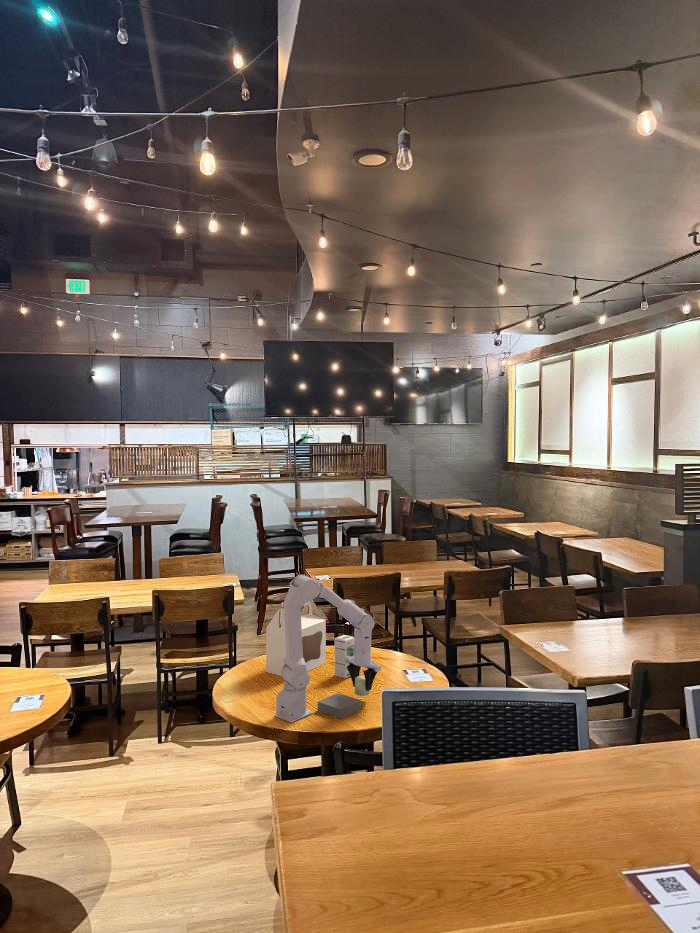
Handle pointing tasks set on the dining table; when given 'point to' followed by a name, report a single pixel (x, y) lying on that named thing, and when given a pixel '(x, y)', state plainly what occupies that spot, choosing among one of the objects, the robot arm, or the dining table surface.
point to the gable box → (311, 639)
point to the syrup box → (343, 654)
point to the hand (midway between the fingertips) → (362, 688)
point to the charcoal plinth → (339, 705)
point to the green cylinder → (360, 686)
